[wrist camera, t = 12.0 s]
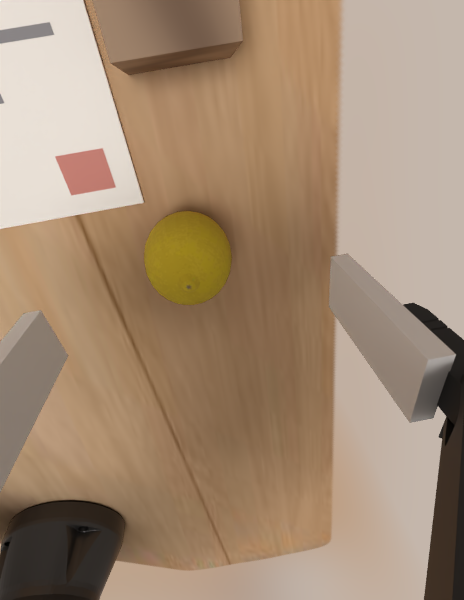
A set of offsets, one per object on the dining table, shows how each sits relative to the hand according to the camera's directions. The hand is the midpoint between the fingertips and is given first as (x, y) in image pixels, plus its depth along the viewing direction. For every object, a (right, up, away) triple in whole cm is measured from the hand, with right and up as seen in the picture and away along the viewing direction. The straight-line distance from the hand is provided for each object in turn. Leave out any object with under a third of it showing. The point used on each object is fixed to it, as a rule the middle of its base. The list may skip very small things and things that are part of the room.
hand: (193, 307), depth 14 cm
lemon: (-2, +5, +9) cm, 11 cm away
